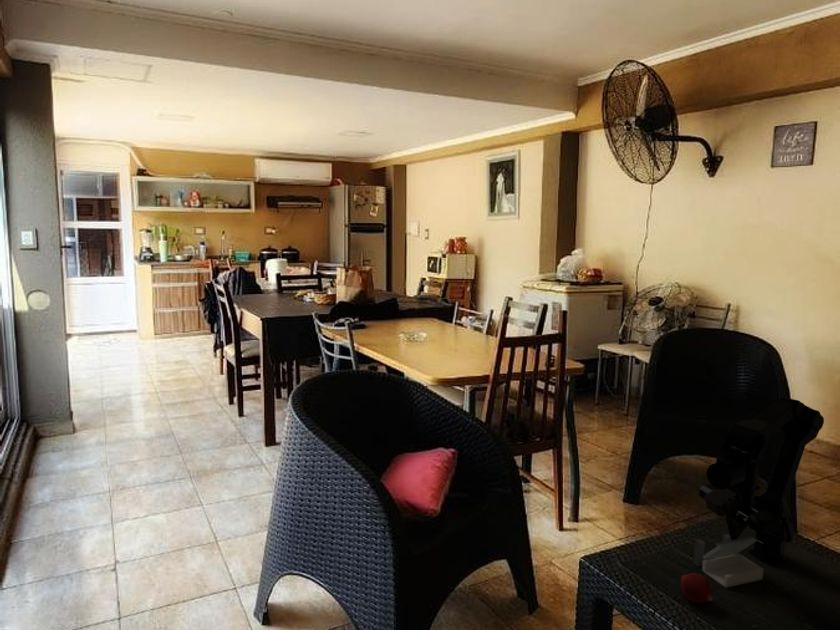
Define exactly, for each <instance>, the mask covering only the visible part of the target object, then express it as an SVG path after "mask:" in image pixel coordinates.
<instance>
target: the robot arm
mask: <svg viewBox="0 0 840 630" xmlns="http://www.w3.org/2000/svg"><path fill="white" fill-rule="evenodd" d="M824 423H825V418H824V416H823V415H822V414H821V413H820V411H819V410H817V409H813V408H812V407H810V406H807V405H806V404H804V402H803V401H802V402H801V401H800V400H797V399H793V398H789V397H785V396H780V397H778V398H776V400H775V403H773V404H772V405H770V406H769V407H767V408H766V409H765V410H763V411H762V412H761V413H760V414H758V415H757V416H756V417H754V418H752V419H744V420H740V421H737V422H735V423H734V424H732V425H731V426H730V427H728V429H727V431H726V433H725V435H724V437H723V440H722V442H721V444H720V446H719V448H718V449H717V450H718V451H717V453H718V454H721V455H723V456H720V457H717V458H716V462H714V463H712V464H710V465H709V466H708V468H707V469H706V471H705V472H706V473H705V475H706V478H707V481H708V484H703V485H701V486H700V488H699V492H698V496H699V498H702V499H703V500H705V505H706V509H707V510H709V511H711V512H712V513H714V514H715V515H716V516H718V517H724V518H725V521H726V525H727V530H728V533H729V534H728V535H730V538H731V540H735V539H739V537H740V536H741V534H743V533H744V530H746V529H747V527H748V528H749V529H750V530H753V531H755V537H754V538H755V540H756V542H754V543H753V548H749V549H748V552H749V553H750V554H751V555H752V556H754V557H756V558H758V559H760V560H761V561H763V562H764V563H766V564H768V565H775V564H780V563H784V562H785V563H786V562H789V560H790V558H788V556H785V555H784V552H785V544H786V543H792V542H793V539H794V537H795V533H796V529H795V528H794V526H793V524H792V522H791V521H790V519H791V514H792V513H791V509H790V506H789V502H788V499H789V496H790V493H791V490H792V487H793V484H794V482H795V478H796V475H797V472H798V470H799V466H800V463H801V460H802V457H803V454H804V450H805V448H806V445H808V444H809V443H811V442H812V441H813V440H814V439H815V440H816V438H817V436H818V435H819V432H820V430H822V428H823V427H824ZM780 429H781V431H782V435H783V439H782V442H781V446H780V448H779V452H778V454H777V458H776V460H775V462H774V466H773V469H772V472H771V474H770V478H769V481H768V484H767V486H766V490H765V491H764V492H763V493H762V494H760V495H755V494H756V491H759V490H760V488H761V485H758V484H757V480H758V479H757V478H758V472H759V466H760V465H759V464H760V460H763V459H764V455H763V454H764V452H765V450H766V449H767V447H768V446H769V443H770V442H769V438H770V437H771V436H772V435H774V434H775V433H776V432H778V430H780Z"/></svg>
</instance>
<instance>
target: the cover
mask: <svg viewBox="0 0 840 630" xmlns="http://www.w3.org/2000/svg"><path fill="white" fill-rule="evenodd" d="M755 538H756V537H753V535H751V536H746V537H740V538H737V539H735V540H729V541H724V542H722V541H720V542H716V543H715V546H716V547H714V548H713V549H711V550H709V551H707V553H704V555H703V558H704V559H703V560H709V559H713V558H718V557H721V556H724V555H728V554H731V555H733V554H738V553H740V552H742V551H743V550H745V549H746V548H748V547H750V546H751V545H754V542H756V540H755Z"/></svg>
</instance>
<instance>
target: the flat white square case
mask: <svg viewBox="0 0 840 630" xmlns="http://www.w3.org/2000/svg"><path fill="white" fill-rule="evenodd" d="M729 540H731V538H730V534H728V533H727V534H726V533H725V534H722V540H721V542H724V541H729ZM705 546H706V542H705V541H704V540H702V539H701V538H700V539H695V541H694V553H693V562H692V563H693V564H694V565H695V566H696V567H701V571H702V572H703V573H704V574H706V575H707V576H709V577H710V578H711V579H713V580H714V581H715V582H717V583H718V584H720V585H722V586H723V587H724V588H731V587H735V586H739V585H740V586H741V585H745V584H748V583H754V582H757V581H762V580H764V579H763V578H764V570H765V569H764V568H763V567H761V566H760V565H758V564H756V563H755V562H753V561H752V560H750V559H749V558H747V557H745V556H744V555H742V554H740V552H738V553H733V554H728V555H724V556H719V557H714V558H709V559H704V558H703V555H705V550H706V549H705Z"/></svg>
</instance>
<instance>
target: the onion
mask: <svg viewBox="0 0 840 630" xmlns="http://www.w3.org/2000/svg"><path fill="white" fill-rule="evenodd" d="M680 579H681V581H680V588H681V591H682V594H683V595H684V596H685V598H686V599H688V600H689V601H691V602H692V603H698V604H704V603H706V602H712V601H713V600H714V597H713V596H712V588H711V585H710V582H709V580H708V579H706V578H705V576H703V575H702V574H699V573H695V572H692V573H688V574H683V575H682V576H681V578H680Z"/></svg>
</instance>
